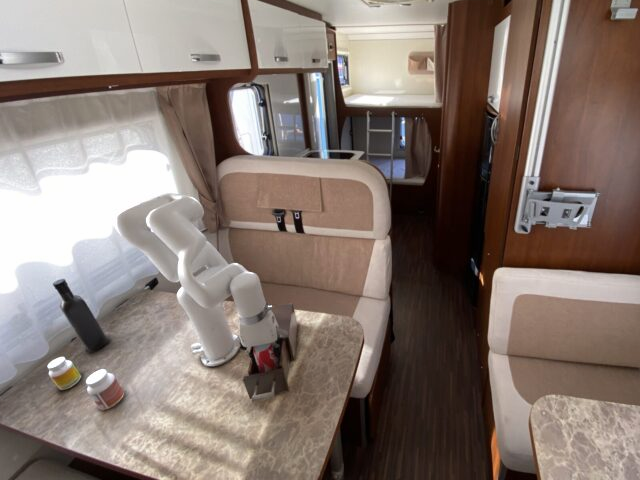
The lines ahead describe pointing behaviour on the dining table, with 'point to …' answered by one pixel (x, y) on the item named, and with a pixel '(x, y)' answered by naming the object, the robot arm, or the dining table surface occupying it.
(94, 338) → the wine bottle
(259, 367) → the beverage can
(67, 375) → the supplement bottle
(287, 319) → the cabinet
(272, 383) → the drawer
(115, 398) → the pill bottle
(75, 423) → the dining table surface
